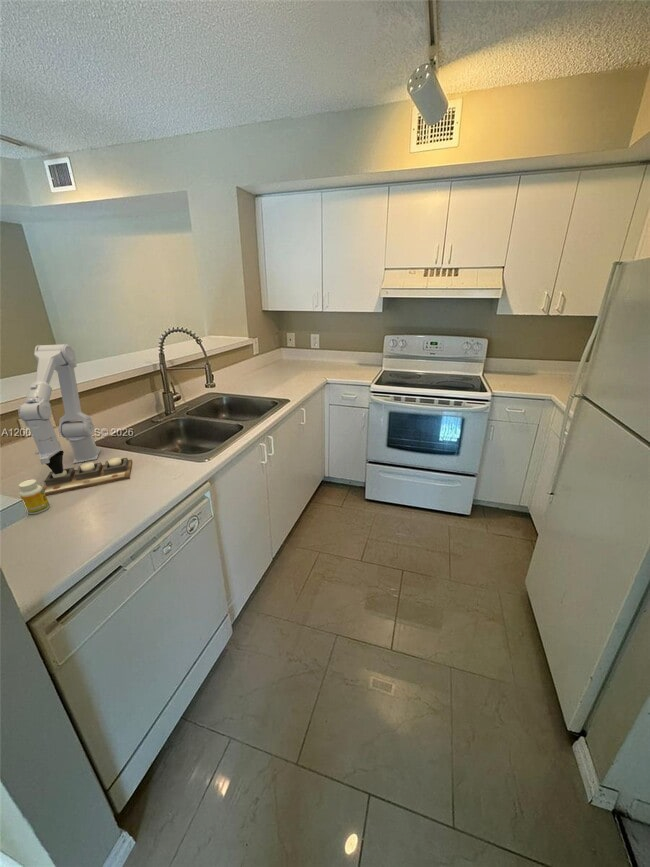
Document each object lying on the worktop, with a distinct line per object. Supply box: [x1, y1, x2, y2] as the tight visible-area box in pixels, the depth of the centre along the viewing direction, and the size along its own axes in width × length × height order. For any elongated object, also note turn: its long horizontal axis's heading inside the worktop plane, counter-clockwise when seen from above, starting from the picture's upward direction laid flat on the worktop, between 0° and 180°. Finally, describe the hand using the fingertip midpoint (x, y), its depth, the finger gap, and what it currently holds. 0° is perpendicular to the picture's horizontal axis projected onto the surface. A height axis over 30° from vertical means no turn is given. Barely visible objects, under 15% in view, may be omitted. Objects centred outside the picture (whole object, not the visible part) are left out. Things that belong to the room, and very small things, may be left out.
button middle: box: [80, 461, 95, 473], centre depth 118 cm, size 4×4×2 cm
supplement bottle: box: [18, 479, 50, 515], centre depth 100 cm, size 5×5×10 cm
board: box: [42, 457, 133, 497], centre depth 118 cm, size 14×26×3 cm, turn 114°
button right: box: [107, 456, 122, 467], centre depth 122 cm, size 4×4×2 cm
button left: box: [52, 470, 67, 478], centre depth 116 cm, size 4×4×2 cm
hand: (59, 473), depth 115 cm, fingers closed, pressing on button left
